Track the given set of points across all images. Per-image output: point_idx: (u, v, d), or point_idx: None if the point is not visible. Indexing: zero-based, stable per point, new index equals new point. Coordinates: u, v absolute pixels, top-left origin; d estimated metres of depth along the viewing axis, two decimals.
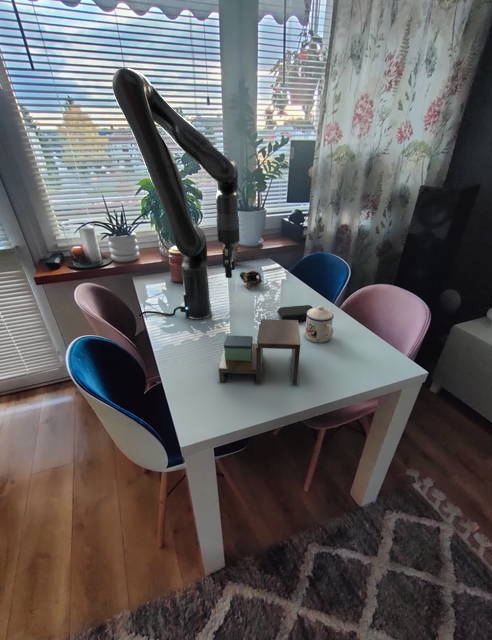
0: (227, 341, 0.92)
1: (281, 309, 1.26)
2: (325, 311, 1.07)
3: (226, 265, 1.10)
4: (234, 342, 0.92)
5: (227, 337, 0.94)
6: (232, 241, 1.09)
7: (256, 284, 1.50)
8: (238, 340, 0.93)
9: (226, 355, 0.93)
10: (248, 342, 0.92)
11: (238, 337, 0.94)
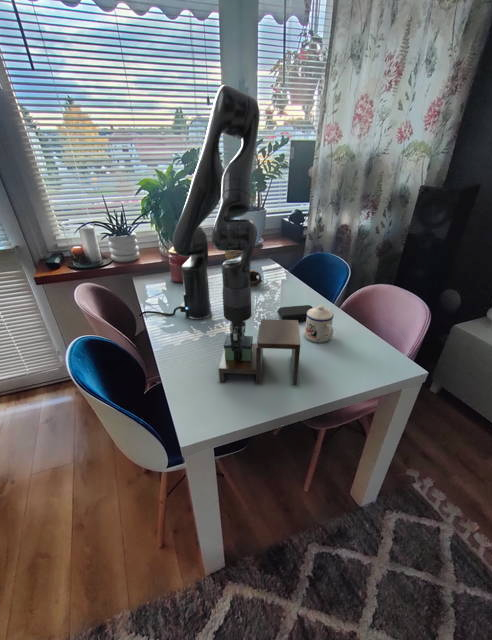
0: (227, 341, 0.92)
1: (281, 309, 1.26)
2: (325, 311, 1.07)
3: (235, 349, 0.87)
4: None
5: (227, 337, 0.94)
6: (242, 319, 0.85)
7: (256, 284, 1.50)
8: None
9: (226, 355, 0.93)
10: (248, 342, 0.92)
11: None
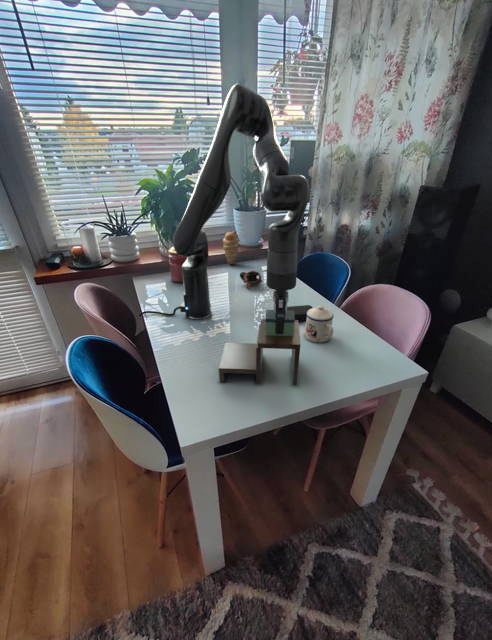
0: (268, 315, 0.87)
1: None
2: (325, 311, 1.07)
3: (279, 320, 0.80)
4: None
5: (267, 311, 0.89)
6: (288, 288, 0.79)
7: (256, 284, 1.50)
8: (279, 314, 0.87)
9: (267, 330, 0.87)
10: (291, 316, 0.86)
11: None
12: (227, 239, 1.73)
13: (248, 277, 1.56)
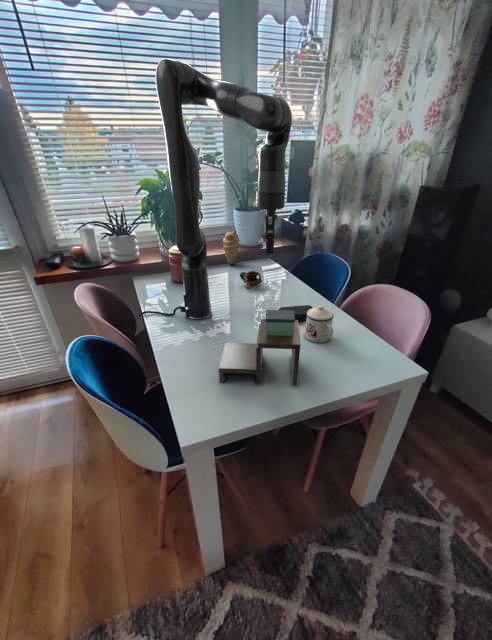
0: (268, 315, 0.87)
1: (281, 309, 1.26)
2: (325, 311, 1.07)
3: (269, 236, 0.90)
4: (276, 316, 0.86)
5: (267, 311, 0.89)
6: (277, 207, 0.89)
7: (256, 284, 1.50)
8: (279, 314, 0.87)
9: (267, 330, 0.87)
10: (291, 316, 0.86)
11: (279, 311, 0.89)
12: (227, 239, 1.73)
13: (248, 277, 1.56)
